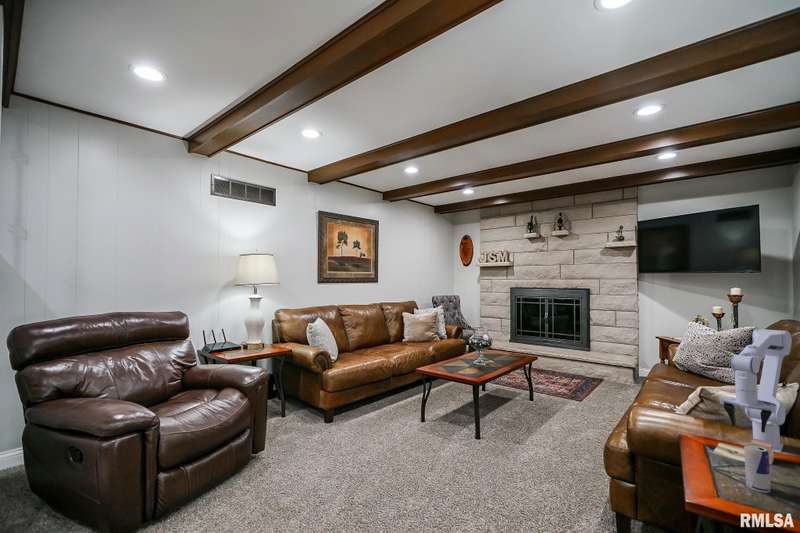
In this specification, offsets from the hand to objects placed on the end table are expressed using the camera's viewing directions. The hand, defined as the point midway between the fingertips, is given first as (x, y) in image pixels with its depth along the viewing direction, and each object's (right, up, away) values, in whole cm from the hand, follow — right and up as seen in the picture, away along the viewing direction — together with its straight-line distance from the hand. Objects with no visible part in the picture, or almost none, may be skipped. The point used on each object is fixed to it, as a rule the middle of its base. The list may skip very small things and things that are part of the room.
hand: (748, 428), depth 134 cm
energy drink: (-16, -9, -21) cm, 28 cm away
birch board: (-4, -10, +2) cm, 11 cm away
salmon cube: (+1, -9, -4) cm, 10 cm away
